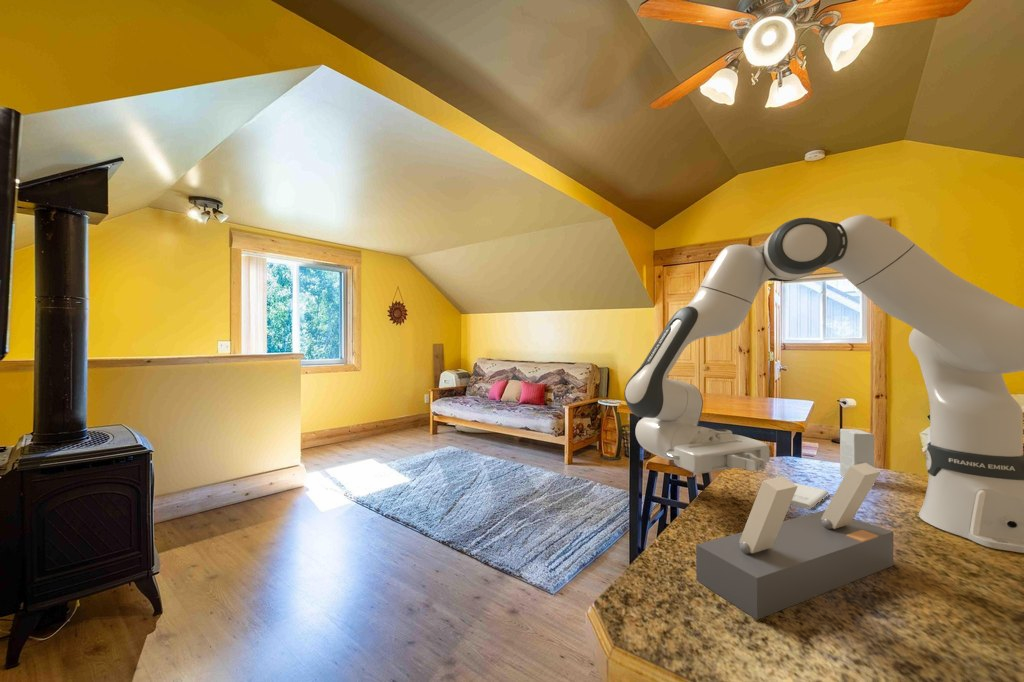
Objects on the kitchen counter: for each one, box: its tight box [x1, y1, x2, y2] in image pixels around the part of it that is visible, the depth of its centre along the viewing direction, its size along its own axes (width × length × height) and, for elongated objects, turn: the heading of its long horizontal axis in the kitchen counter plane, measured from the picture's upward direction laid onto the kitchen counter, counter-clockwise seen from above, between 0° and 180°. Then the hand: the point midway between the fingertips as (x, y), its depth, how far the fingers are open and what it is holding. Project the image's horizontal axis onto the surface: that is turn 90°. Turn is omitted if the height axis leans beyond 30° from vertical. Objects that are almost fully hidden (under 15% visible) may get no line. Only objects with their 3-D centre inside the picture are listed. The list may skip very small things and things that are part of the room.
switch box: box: [695, 509, 894, 620], centre depth 60 cm, size 9×30×5 cm, turn 114°
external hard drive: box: [790, 482, 829, 510], centre depth 89 cm, size 2×8×12 cm
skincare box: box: [839, 428, 875, 478], centre depth 99 cm, size 6×4×12 cm
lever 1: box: [739, 476, 798, 554], centre depth 55 cm, size 2×4×11 cm, turn 114°
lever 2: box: [821, 463, 882, 529], centre depth 62 cm, size 2×4×11 cm, turn 114°
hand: (760, 465), depth 74 cm, fingers closed
